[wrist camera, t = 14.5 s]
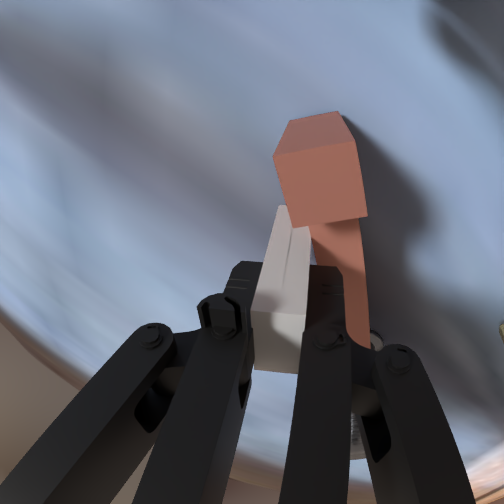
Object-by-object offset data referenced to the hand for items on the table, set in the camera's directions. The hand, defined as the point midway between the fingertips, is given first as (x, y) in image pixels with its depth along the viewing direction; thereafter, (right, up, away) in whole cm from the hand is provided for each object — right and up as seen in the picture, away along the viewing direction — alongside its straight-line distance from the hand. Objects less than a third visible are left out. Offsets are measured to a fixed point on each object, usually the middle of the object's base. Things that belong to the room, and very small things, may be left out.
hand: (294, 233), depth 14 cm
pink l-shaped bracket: (+3, 0, +2) cm, 3 cm away
